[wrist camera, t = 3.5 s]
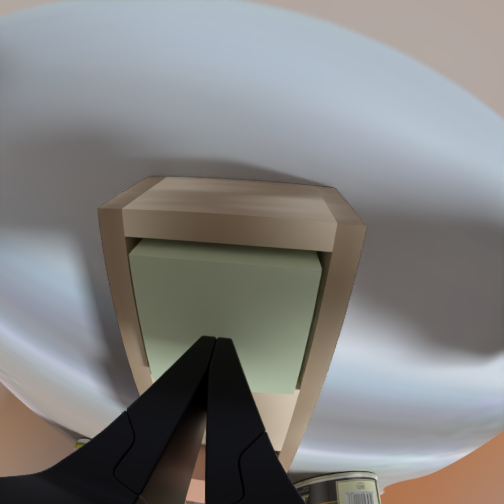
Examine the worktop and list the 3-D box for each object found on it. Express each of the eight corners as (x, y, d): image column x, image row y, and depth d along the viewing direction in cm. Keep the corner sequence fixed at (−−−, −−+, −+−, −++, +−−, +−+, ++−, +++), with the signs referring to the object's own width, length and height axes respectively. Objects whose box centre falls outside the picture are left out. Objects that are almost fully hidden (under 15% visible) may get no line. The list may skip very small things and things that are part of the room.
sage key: (305, 216, 11) (321, 270, 7) (289, 323, 13) (293, 394, 10) (171, 207, 11) (128, 254, 8) (178, 314, 13) (153, 379, 10)
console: (335, 188, 11) (366, 226, 7) (266, 485, 24) (264, 517, 20) (148, 176, 11) (97, 208, 7) (196, 478, 24) (190, 510, 20)
